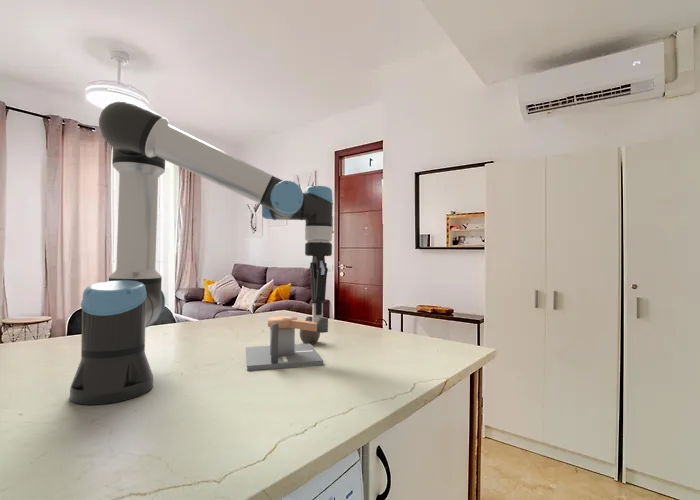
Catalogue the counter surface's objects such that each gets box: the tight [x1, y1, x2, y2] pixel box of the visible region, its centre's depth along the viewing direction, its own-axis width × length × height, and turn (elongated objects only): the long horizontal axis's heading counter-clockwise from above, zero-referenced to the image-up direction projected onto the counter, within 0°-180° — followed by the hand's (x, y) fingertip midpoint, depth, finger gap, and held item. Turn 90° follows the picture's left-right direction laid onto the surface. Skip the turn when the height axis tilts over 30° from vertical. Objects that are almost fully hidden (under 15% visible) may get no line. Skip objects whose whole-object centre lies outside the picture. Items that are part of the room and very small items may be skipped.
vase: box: [299, 316, 321, 345], centre depth 128 cm, size 7×7×9 cm
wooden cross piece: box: [267, 315, 329, 334], centre depth 106 cm, size 20×8×4 cm, turn 57°
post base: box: [245, 323, 324, 371], centre depth 109 cm, size 20×20×12 cm
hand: (317, 325), depth 106 cm, fingers closed
